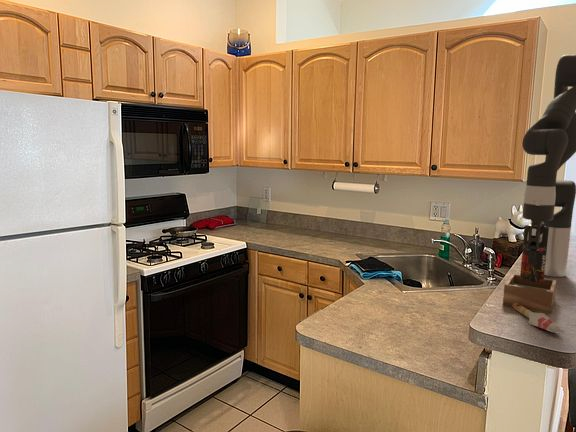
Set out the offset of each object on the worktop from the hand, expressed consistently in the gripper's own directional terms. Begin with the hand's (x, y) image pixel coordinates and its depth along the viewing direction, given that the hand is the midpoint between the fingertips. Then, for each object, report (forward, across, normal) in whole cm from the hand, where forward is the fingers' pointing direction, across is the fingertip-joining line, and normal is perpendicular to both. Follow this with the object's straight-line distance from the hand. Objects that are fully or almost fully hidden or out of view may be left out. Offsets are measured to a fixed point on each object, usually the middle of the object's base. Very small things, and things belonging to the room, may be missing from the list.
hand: (533, 261), depth 125 cm
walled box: (+12, 0, 0) cm, 12 cm away
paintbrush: (+12, +16, +3) cm, 20 cm away
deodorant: (+5, 0, 0) cm, 5 cm away
